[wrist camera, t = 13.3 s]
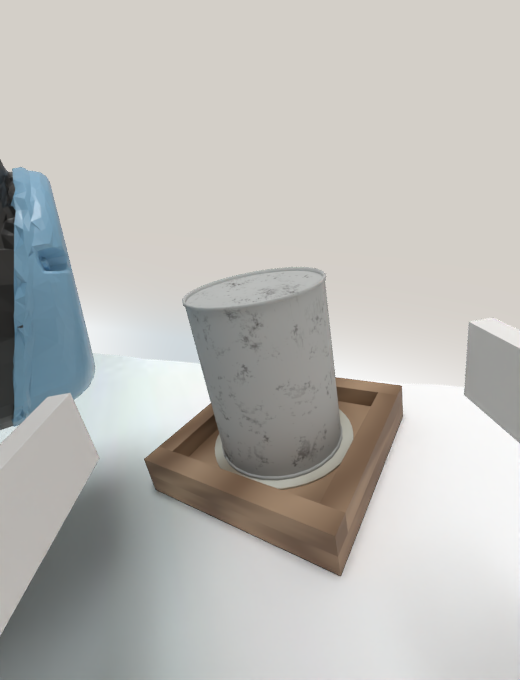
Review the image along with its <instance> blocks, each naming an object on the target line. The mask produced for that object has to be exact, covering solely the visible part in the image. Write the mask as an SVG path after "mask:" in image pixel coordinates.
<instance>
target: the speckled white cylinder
mask: <svg viewBox="0 0 520 680" xmlns="http://www.w3.org/2000/svg"><path fill="white" fill-rule="evenodd" d="M325 280H326V274H325V273H324V272H323V271H322V270H319V269H316V268H308V267H289V268H277V269H268V270H261V271H256V272H250V273H245V274H241V275H236V276H232V277H229V278H224V279H221V280H218V281H215V282H212V283H209V284H206V285H203V286H201V287H199V288H197V289H195V290H193V291H191V292H190V293H188V294H186V295H185V296H184V298H183V299H182V301H183V306H185V308H186V311H187V315H188V319H189V323H190V326H191V330H192V334H193V337H194V341H195V345H196V349H197V352H198V356H199V360H200V364H201V367H202V371H203V375H204V378H205V382H206V386H207V390H208V393H209V397H210V401H211V404H212V408H213V412H214V416H215V419H216V423H217V427H218V431H219V434H220V438H221V442H222V449H223V454H224V457H225V458H226V460H227V462H228V463H229V465H231V466H232V467H233V468H234V469H235V470H237V471H238V472H240V473H242V474H244V475H246V476H248V477H252V478H257V479H261V480H284V479H290V478H296V477H299V476H302V475H305V474H308V473H310V472H312V471H314V470H316V469H318V468H319V467H321V466H323V465H324V464H325V463H326V462H327V461H329V460H330V459H331V458H332V457H333V456H334V454H335V453H336V451H337V450H338V449H339V446H340V444H341V441H342V426H341V424H340V416H339V406H338V397H337V388H336V379H335V370H334V361H333V351H332V342H331V333H330V323H329V315H328V305H327V297H326V287H325Z"/></svg>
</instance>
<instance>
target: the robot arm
mask: <svg viewBox="0 0 520 680" xmlns="http://www.w3.org/2000/svg"><path fill="white" fill-rule="evenodd" d="M12 171H13V172H8V171H7V170H6V169H5V168H4V166H3V164H2V162H1V160H0V430H2V429H5V428H8V427H11V426H14V427H15V426H18V425H19V426H18V427H17V428H16V429H15V430H14V431H13V432H12V433H11V434H10V435H9V436H8V437H7V438H6V439H5V440H4V441H3V442H2V443H1V444H0V635H1V634H2V632H3V630H4V628H5V626H6V625H7V623H8V621H9V619H10V617H11V616H12V614H13V612H14V610H15V609H16V607H17V605H18V603H19V601H20V600H21V598H22V596H23V594H24V592H25V591H26V589H27V587H28V585H29V584H30V582H31V580H32V578H33V576H34V575H35V573H36V571H37V569H38V567H39V566H40V564H41V562H42V560H43V559H44V557H45V555H46V553H47V551H48V550H49V548H50V546H51V544H52V542H53V541H54V539H55V537H56V535H57V534H58V532H59V530H60V528H61V526H62V525H63V523H64V521H65V519H66V517H67V516H68V514H69V512H70V510H71V509H72V507H73V505H74V503H75V501H76V500H77V498H78V496H79V494H80V493H81V491H82V489H83V487H84V485H85V484H86V482H87V480H88V478H89V476H90V475H91V473H92V471H93V469H94V468H95V466H96V464H97V462H98V460H99V459H100V458H99V455H98V453H97V451H96V449H95V446H94V444H93V442H92V440H91V438H90V435H89V433H88V431H87V429H86V426H85V424H84V422H83V420H82V418H81V415H80V413H79V411H78V409H77V406H76V404H75V402H74V399H76V398H77V397H78V396H80V395H81V394H82V393H83V392H84V391H85V390H86V389H87V388H88V387H89V385H90V384H91V381H92V379H93V378H94V373H95V363H94V358H93V354H92V350H91V346H90V341H89V337H88V334H87V329H86V325H85V321H84V317H83V313H82V309H81V305H80V301H79V297H78V293H77V288H76V285H75V281H74V277H73V273H72V269H71V265H70V260H69V256H68V252H67V248H66V244H65V240H64V236H63V232H62V228H61V225H60V221H59V216H58V213H57V209H56V205H55V201H54V197H53V193H52V189H51V185H50V182H49V180H48V179H47V177H46V176H45V175H43V174H42V173H40V172H35V171H28V170H26V169H25V168H22V167H19V168H13V169H12ZM464 395H465V396H466V397H467V398H468V399H469V400H471V401H472V402H473V403H474V404H475V405H476V406H478V407H479V408H480V409H481V410H482V411H483V412H484V413H486V414H487V415H488V416H489V417H490V418H491V419H493V420H494V421H495V422H496V423H497V424H498V425H499V426H501V427H502V428H503V429H504V430H505V431H506V432H507V433H509V434H510V435H511V436H512V437H513V438H514V439H516V440H517V441H518V442H519V443H520V330H519V329H517V328H515V327H512V326H510V325H508V324H506V323H504V322H501V321H499V320H497V319H495V318H487V319H482V320H476V321H470V322H469V330H468V343H467V361H466V374H465V389H464Z"/></svg>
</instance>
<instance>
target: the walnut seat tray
mask: <svg viewBox="0 0 520 680" xmlns="http://www.w3.org/2000/svg"><path fill="white" fill-rule="evenodd" d="M335 379H336V388H337V397H338V406H339V416H340V424H341V426H342V441H341V444H340V446H339V449H338V450H337V451H336V453H335V454H334V456H333V457H332V458H331V459H330V460H329V461H327V462H326V463H325V464H324V465H323V466H321V467H319V468H318V469H316V470H314V471H312V472H310V473H308V474H305V475H302V476H299V477H296V478H290V479H284V480H261V479H257V478H252V477H248V476H246V475H244V474H242V473H240V472H238V471H237V470H235V469H234V468H233V467H232V466H231V465H229V463H228V462H227V460H226V458H225V457H224V454H223V449H222V442H221V438H220V434H219V431H218V427H217V423H216V419H215V416H214V412H213V408H212V404H209V405H208V406H207V407H206V408H205V409H203V410H202V411H201V412H200V413H199V414H197V415H196V416H195V417H194V418H193V419H191V420H190V421H189V422H188V423H187V424H185V425H184V426H183V427H182V428H181V429H179V430H178V431H177V432H176V433H175V434H174V435H172V436H171V437H170V438H169V439H168V440H166V441H165V442H164V443H163V444H162V445H160V446H159V447H158V448H157V449H156V450H154V451H153V452H152V453H151V454H150V455H148V456H147V457H146V458H145V459H144V461H145V463H146V466H147V468H148V471H149V474H150V476H151V479H152V481H153V484H154V487H155V489H156V490H158V491H160V492H162V493H164V494H166V495H168V496H170V497H172V498H175V499H177V500H179V501H181V502H183V503H185V504H187V505H190V506H192V507H194V508H196V509H198V510H200V511H202V512H205V513H207V514H209V515H211V516H213V517H215V518H217V519H220V520H222V521H224V522H226V523H228V524H230V525H232V526H235V527H237V528H239V529H241V530H243V531H245V532H247V533H249V534H252V535H254V536H256V537H258V538H260V539H262V540H264V541H267V542H269V543H271V544H273V545H275V546H277V547H279V548H282V549H284V550H286V551H288V552H290V553H292V554H294V555H297V556H299V557H301V558H303V559H305V560H307V561H309V562H312V563H314V564H316V565H318V566H320V567H322V568H324V569H326V570H329V571H331V572H333V573H335V574H337V575H339V576H341V574H342V572H343V569H344V566H345V564H346V561H347V559H348V556H349V554H350V551H351V548H352V546H353V543H354V541H355V538H356V536H357V533H358V530H359V528H360V525H361V523H362V520H363V517H364V515H365V512H366V510H367V507H368V505H369V502H370V499H371V497H372V494H373V492H374V489H375V487H376V484H377V481H378V479H379V476H380V474H381V471H382V468H383V466H384V463H385V461H386V458H387V456H388V453H389V450H390V448H391V445H392V443H393V440H394V437H395V435H396V432H397V430H398V427H399V425H400V422H401V419H402V417H403V406H402V386H400V385H392V384H384V383H376V382H368V381H360V380H352V379H344V378H337V377H335Z"/></svg>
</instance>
